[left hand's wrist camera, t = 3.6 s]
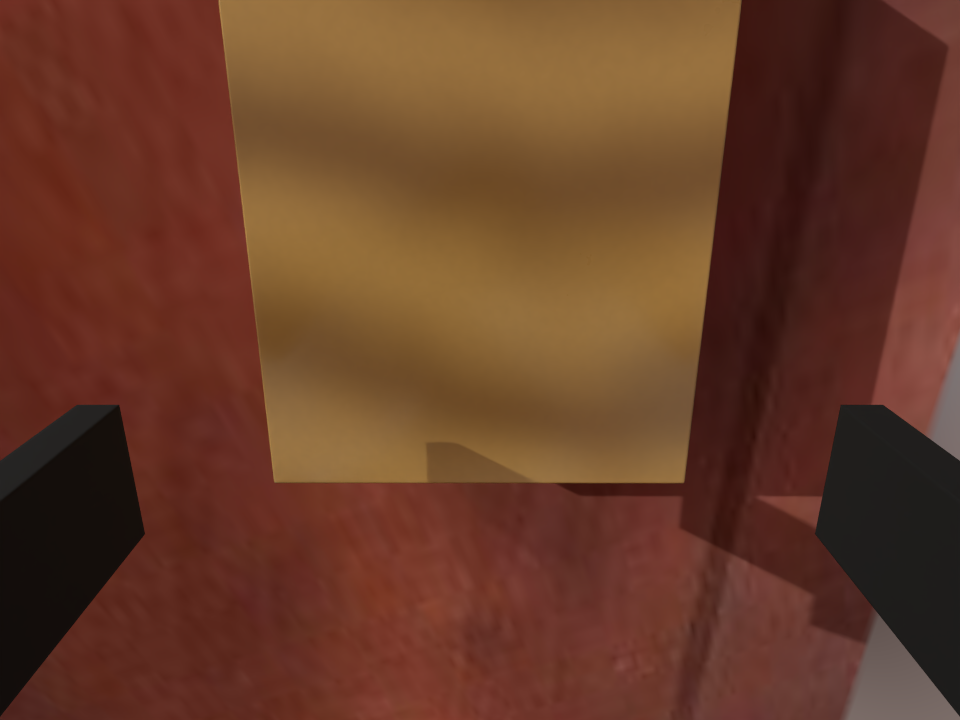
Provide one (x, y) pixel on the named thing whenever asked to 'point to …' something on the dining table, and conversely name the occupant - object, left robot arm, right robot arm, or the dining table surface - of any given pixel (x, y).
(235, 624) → the dining table surface
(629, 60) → the tan boxy grained block
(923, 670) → the left robot arm
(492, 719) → the dining table surface
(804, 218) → the dining table surface
